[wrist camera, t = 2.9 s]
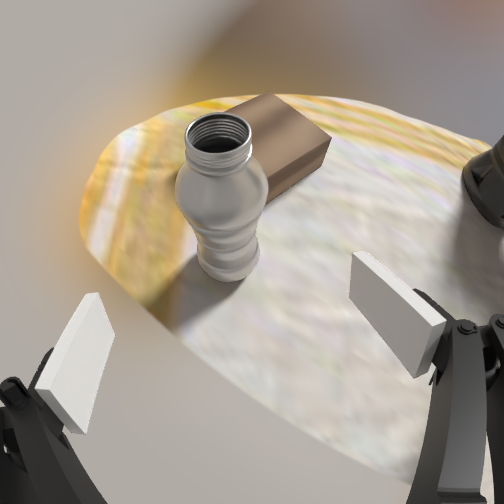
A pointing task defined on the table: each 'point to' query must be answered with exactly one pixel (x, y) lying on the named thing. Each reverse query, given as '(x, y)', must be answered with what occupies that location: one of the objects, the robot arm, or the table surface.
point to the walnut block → (282, 141)
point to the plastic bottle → (222, 194)
